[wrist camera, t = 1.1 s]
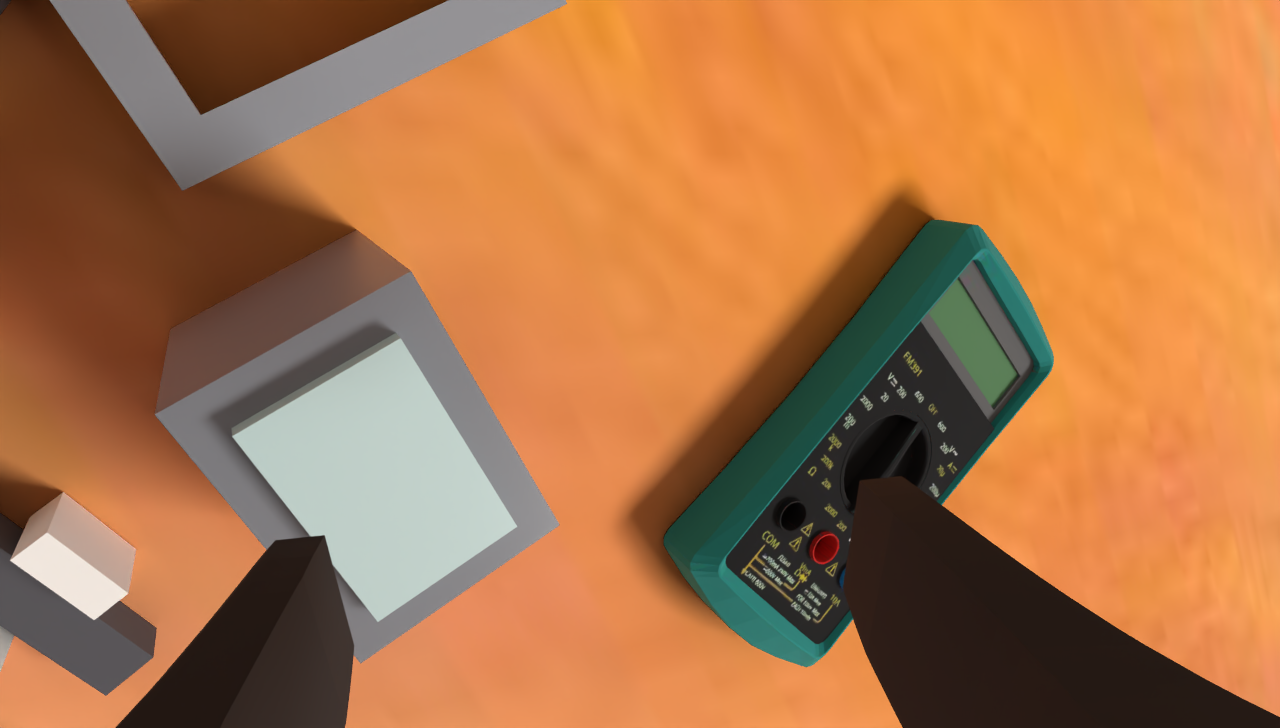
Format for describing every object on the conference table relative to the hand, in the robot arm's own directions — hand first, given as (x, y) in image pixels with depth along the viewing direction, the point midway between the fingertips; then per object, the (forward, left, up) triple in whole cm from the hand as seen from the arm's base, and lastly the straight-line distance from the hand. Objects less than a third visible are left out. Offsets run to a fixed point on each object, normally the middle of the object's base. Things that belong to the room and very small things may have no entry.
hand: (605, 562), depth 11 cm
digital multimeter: (+11, -10, -12) cm, 19 cm away
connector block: (-2, +1, -11) cm, 11 cm away
